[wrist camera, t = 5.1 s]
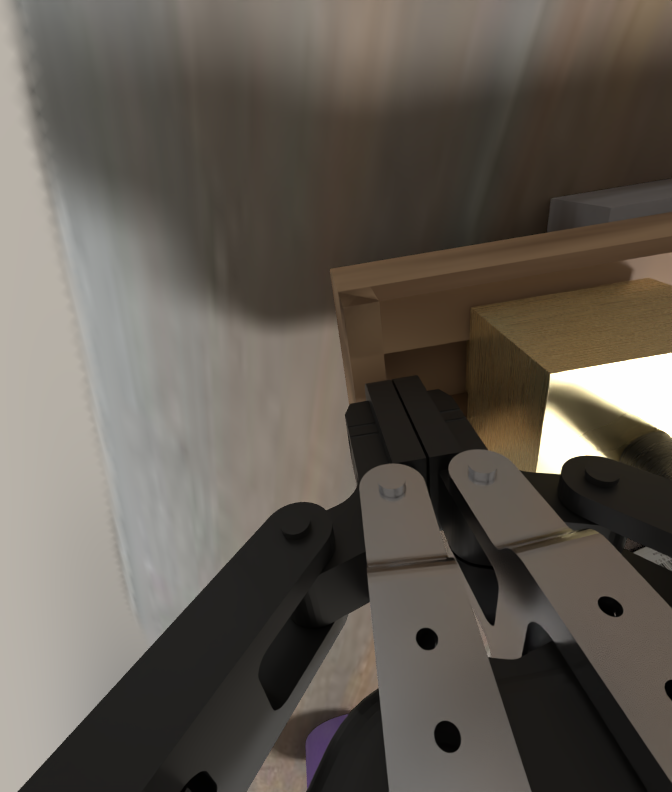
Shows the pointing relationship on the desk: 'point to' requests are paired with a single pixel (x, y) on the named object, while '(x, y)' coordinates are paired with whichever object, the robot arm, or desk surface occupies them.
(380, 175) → the desk surface
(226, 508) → the desk surface
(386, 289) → the beam
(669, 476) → the rider
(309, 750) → the tape roll
